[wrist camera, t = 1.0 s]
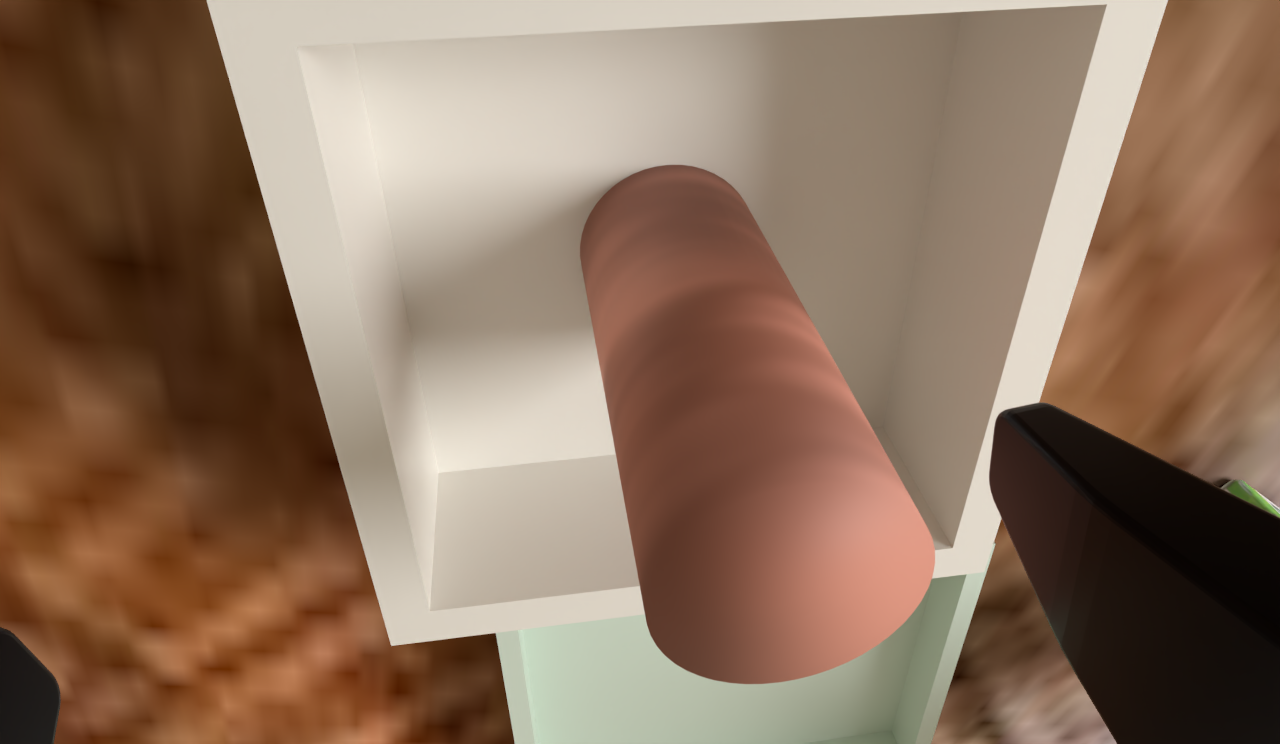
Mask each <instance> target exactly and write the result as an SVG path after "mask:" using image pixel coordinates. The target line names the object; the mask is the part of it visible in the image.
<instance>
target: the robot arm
mask: <svg viewBox="0 0 1280 744" xmlns="http://www.w3.org/2000/svg"><path fill="white" fill-rule="evenodd" d="M989 485H990V490H991V494H992V497H993V500H994V502H995V505H996V507H997V509H998V511H999V514H1000V516H1001V518H1002V520H1003V522H1004V525H1005V527H1006V529H1007V531H1008V533H1009V536H1010V538H1011V540H1012V542H1013V545H1014V547H1015V549H1016V551H1017V553H1018V556H1019V558H1020V560H1021V562H1022V564H1023V567H1024V569H1025V571H1026V573H1027V575H1028V578H1029V580H1030V582H1031V584H1032V586H1033V589H1034V591H1035V593H1036V595H1037V598H1038V600H1039V602H1040V604H1041V606H1042V609H1043V611H1044V613H1045V615H1046V617H1047V620H1048V622H1049V624H1050V626H1051V628H1052V630H1053V632H1054V634H1055V636H1056V638H1057V641H1058V643H1059V645H1060V647H1061V649H1062V650H1063V652H1064V654H1065V656H1066V658H1067V659H1068V661H1069V663H1070V665H1071V666H1072V668H1073V670H1074V672H1075V674H1076V675H1077V677H1078V679H1079V680H1080V682H1081V684H1082V685H1083V687H1084V689H1085V690H1086V692H1087V694H1088V695H1089V697H1090V699H1091V700H1092V702H1093V704H1094V705H1095V707H1096V709H1097V711H1098V712H1099V714H1100V716H1101V717H1102V719H1103V721H1104V722H1105V724H1106V726H1107V727H1108V729H1109V731H1110V732H1111V734H1112V736H1113V737H1114V739H1115V741H1116V742H1117V744H1280V517H1278V516H1276V515H1274V514H1272V513H1270V512H1268V511H1266V510H1263V509H1261V508H1259V507H1257V506H1255V505H1253V504H1251V503H1249V502H1247V501H1245V500H1243V499H1241V498H1239V497H1237V496H1235V495H1233V494H1231V493H1229V492H1227V491H1225V490H1223V489H1221V488H1219V487H1217V486H1215V485H1213V484H1211V483H1209V482H1207V481H1205V480H1203V479H1201V478H1199V477H1197V476H1195V475H1193V474H1191V473H1189V472H1187V471H1185V470H1183V469H1181V468H1179V467H1177V466H1175V465H1173V464H1171V463H1169V462H1167V461H1165V460H1163V459H1161V458H1159V457H1156V456H1154V455H1152V454H1150V453H1148V452H1146V451H1144V450H1142V449H1140V448H1138V447H1136V446H1134V445H1132V444H1130V443H1128V442H1126V441H1124V440H1122V439H1120V438H1118V437H1116V436H1114V435H1112V434H1110V433H1108V432H1106V431H1104V430H1102V429H1100V428H1098V427H1096V426H1094V425H1092V424H1090V423H1088V422H1086V421H1084V420H1082V419H1080V418H1078V417H1076V416H1074V415H1072V414H1070V413H1068V412H1066V411H1064V410H1062V409H1060V408H1058V407H1056V406H1053V405H1051V404H1048V403H1034V404H1029V405H1024V406H1020V407H1015V408H1010V409H1006V410H1004V411H1002V412H1001V413H1000V414H999V415H998V416H997V418H996V421H995V426H994V434H993V443H992V452H991V460H990V469H989ZM60 701H61V700H60V690H59V685H58V683H57V681H56V679H55V677H54V676H53V674H52V673H51V672H50V671H49V670H48V669H47V668H46V667H45V666H44V665H43V664H42V663H41V662H40V661H39V660H38V659H37V658H36V657H35V655H34V654H33V653H32V652H31V651H30V650H29V649H28V648H27V647H26V646H25V645H24V644H23V643H22V642H21V641H20V640H19V639H18V638H17V637H16V636H15V635H14V634H13V633H12V632H11V631H9V630H7V629H4V628H1V627H0V744H54V738H55V733H56V727H57V721H58V715H59V710H60Z"/></svg>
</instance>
